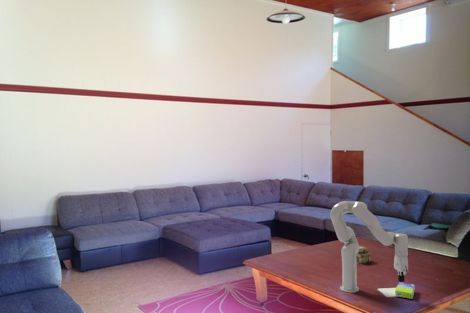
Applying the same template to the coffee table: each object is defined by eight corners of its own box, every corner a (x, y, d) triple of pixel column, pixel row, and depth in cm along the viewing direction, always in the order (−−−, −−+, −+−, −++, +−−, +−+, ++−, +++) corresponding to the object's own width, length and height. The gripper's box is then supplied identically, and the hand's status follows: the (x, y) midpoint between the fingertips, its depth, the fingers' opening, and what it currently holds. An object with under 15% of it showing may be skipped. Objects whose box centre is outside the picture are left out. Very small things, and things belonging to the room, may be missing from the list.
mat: (377, 289, 270) (377, 288, 270) (399, 288, 271) (399, 287, 271) (387, 297, 256) (387, 296, 256) (410, 296, 257) (410, 295, 257)
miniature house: (347, 260, 337) (347, 247, 337) (359, 258, 343) (359, 245, 343) (360, 265, 324) (360, 251, 323) (372, 263, 330) (372, 249, 330)
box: (412, 299, 251) (414, 290, 266) (412, 293, 250) (415, 284, 265) (394, 296, 256) (398, 287, 271) (394, 290, 256) (398, 281, 271)
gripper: (390, 250, 260) (390, 277, 260) (401, 256, 245) (401, 285, 246) (401, 249, 261) (400, 277, 261) (413, 256, 246) (413, 285, 246)
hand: (401, 281), depth 253 cm, fingers closed
